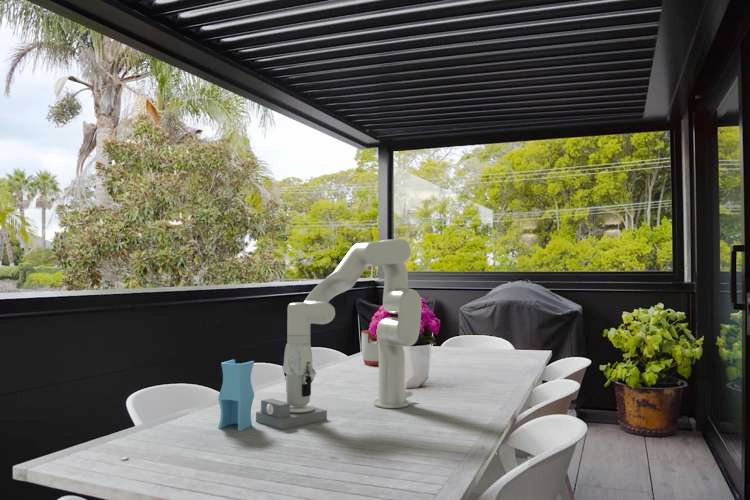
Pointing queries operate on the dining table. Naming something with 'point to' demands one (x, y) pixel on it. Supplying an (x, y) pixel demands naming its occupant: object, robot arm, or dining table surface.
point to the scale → (288, 414)
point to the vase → (236, 394)
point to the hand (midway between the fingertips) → (298, 393)
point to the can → (295, 389)
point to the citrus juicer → (370, 348)
